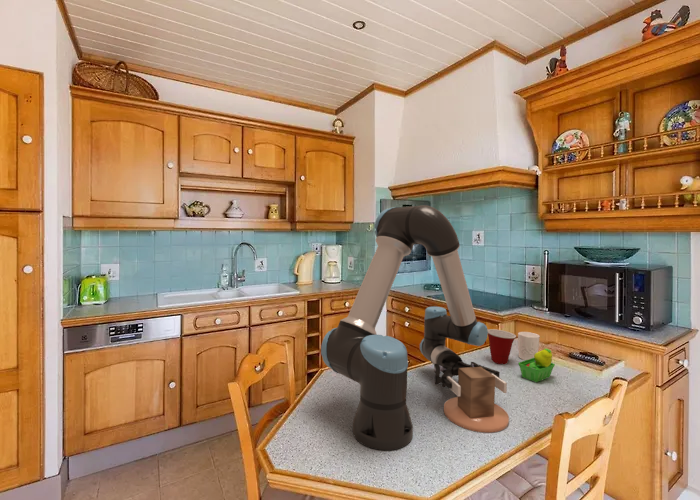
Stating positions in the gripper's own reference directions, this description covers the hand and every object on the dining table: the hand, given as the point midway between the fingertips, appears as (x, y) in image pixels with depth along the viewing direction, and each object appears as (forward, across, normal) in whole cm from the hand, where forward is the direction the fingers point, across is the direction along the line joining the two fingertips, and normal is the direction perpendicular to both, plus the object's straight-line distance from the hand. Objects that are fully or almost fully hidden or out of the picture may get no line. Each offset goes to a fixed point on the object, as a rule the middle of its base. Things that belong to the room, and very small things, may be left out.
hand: (482, 389), depth 92 cm
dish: (-3, 0, -9) cm, 9 cm away
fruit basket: (-23, -36, -9) cm, 44 cm away
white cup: (-41, -46, -9) cm, 62 cm away
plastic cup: (-39, -32, -9) cm, 51 cm away
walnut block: (-3, 0, -8) cm, 8 cm away
